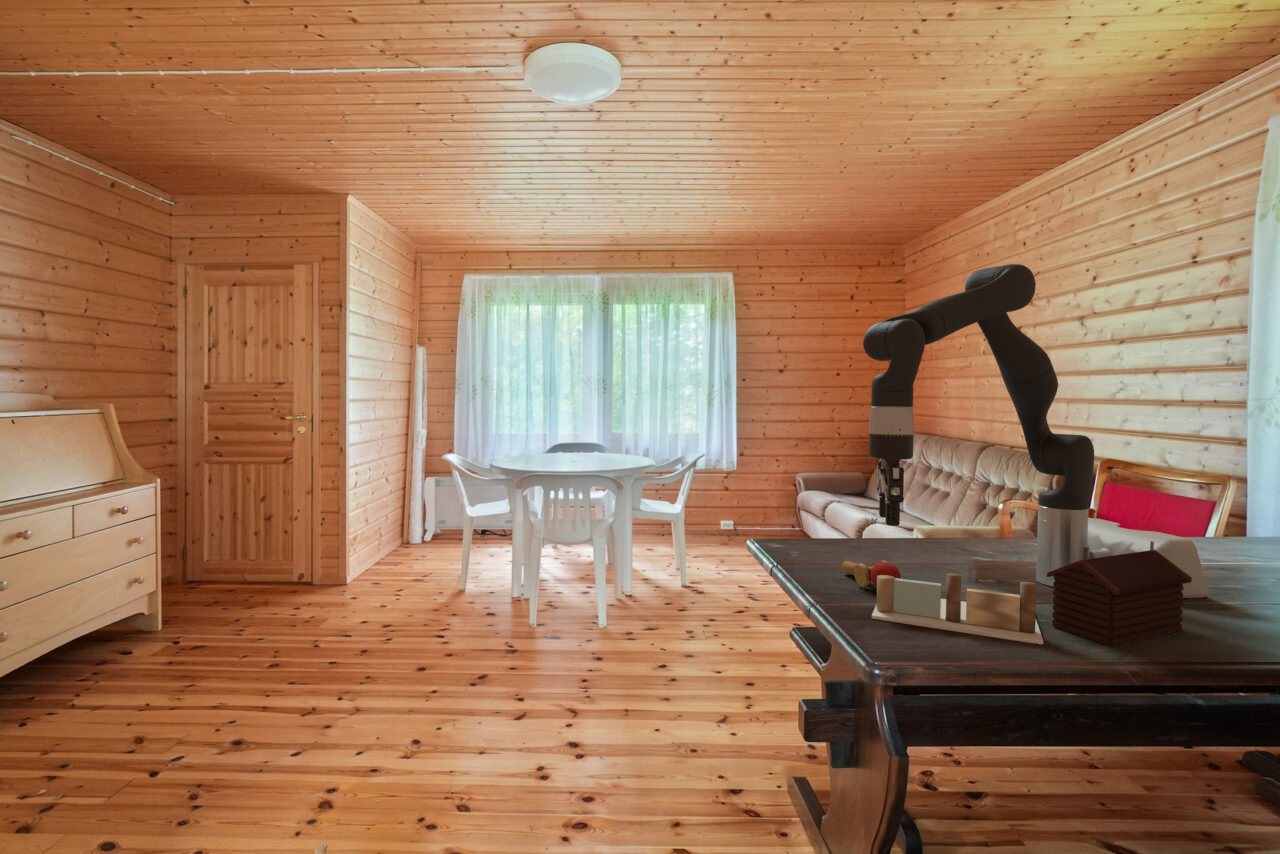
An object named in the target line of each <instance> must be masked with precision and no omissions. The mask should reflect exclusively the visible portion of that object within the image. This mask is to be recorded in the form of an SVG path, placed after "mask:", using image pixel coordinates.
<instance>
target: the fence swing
mask: <svg viewBox="0 0 1280 854" xmlns="http://www.w3.org/2000/svg"><path fill="white" fill-rule="evenodd" d="M941 597H942V583H940V582H938V583H937V582H930V581H923V580H921V581H920V580H913V579H907V578H906V579H905V578H901V579H898V578H895V577H892V576H888V575H879V576H877V587H876V604H877V609H878V610H880V611H884V612H893V611H894V612H901V613H908V614H915V615H922V616H929V617H936V618H940V610H941V599H942V598H941Z"/></svg>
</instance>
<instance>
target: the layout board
mask: <svg viewBox="0 0 1280 854" xmlns="http://www.w3.org/2000/svg"><path fill="white" fill-rule="evenodd" d="M871 619H873V620H879V621H885V622H893V623H899V624H906V625H910V626H911V625H912V626H917V627H918V626H919V627H924V628H926V627H927V628H931V629H932V628H933V629H937V630H945V631H951V632H958V633H963V634H964V633H965V634H969V635H970V634H971V635H976V636H984V637H992V638H997V639H1002V640H1003V639H1004V640H1010V641H1017V642H1022V643H1028V644H1029V643H1030V644H1036V643H1037V644H1038V645H1042V644H1043V645H1044V639H1043V636H1042V633H1041V630H1040V627H1039V624H1038V622H1037V620H1036V623H1035V633H1034V634H1030V633H1025V632H1021V631H1020V630H1019V631H1016V630H1009V629H1002V628H995V627H988V626H982V625H975V624H968V623H966V601H964V600H961V618H960V622H950V621H947V620H946V598H941V610H940V618H936V617H929V616H922V615H915V614H908V613H901V612H894V611H893V612H884V611H880V610H878V609H877V603H876V604H875V607H874V609H873V611H872V614H871Z"/></svg>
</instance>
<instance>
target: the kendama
mask: <svg viewBox="0 0 1280 854" xmlns="http://www.w3.org/2000/svg"><path fill="white" fill-rule="evenodd" d="M841 571H842V572H843V574H845V575H853V576H854V579H855V581H856V582H857V584H858V585H859V586H861V587H866V586H869V585H870V583H872V585H874V586H875V588H877V576H879V575H888V576H892V577H895V578H898V579H902V577H901V572H900V570H899V568H898V567H897V566H896V565H895V564H893V563H892V562H889V561H887V560H879V561H878V562H877V563H875V564H874V565H872V566H867V565H865V564H864V563H860V562H859V563H855V562H851V561H849V560H845V561H844V562H843V563H842V564H841Z"/></svg>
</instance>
